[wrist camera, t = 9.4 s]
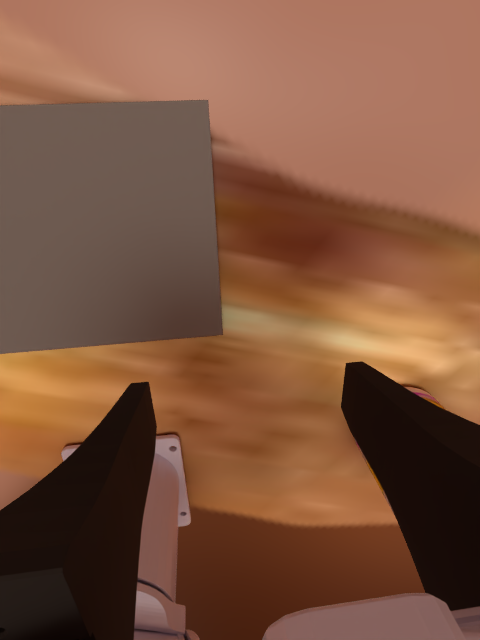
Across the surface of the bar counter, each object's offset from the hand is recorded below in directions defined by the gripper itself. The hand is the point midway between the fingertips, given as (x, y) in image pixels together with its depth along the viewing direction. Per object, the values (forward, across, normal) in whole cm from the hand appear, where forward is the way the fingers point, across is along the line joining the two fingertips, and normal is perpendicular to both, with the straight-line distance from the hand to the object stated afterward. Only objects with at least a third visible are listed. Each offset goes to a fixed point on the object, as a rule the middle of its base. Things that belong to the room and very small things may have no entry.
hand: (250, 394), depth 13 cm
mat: (+9, +12, -4) cm, 15 cm away
